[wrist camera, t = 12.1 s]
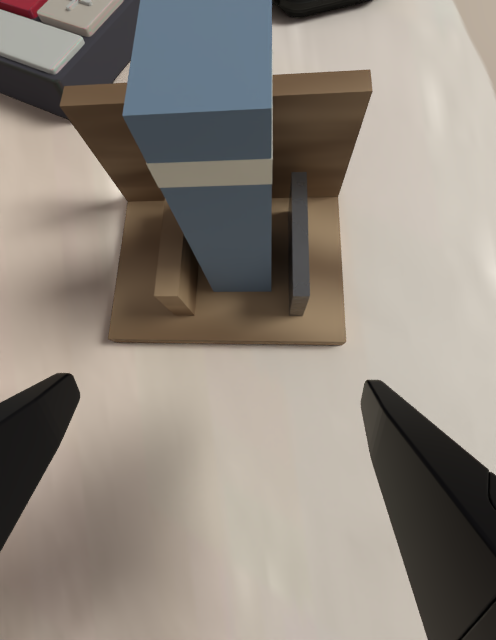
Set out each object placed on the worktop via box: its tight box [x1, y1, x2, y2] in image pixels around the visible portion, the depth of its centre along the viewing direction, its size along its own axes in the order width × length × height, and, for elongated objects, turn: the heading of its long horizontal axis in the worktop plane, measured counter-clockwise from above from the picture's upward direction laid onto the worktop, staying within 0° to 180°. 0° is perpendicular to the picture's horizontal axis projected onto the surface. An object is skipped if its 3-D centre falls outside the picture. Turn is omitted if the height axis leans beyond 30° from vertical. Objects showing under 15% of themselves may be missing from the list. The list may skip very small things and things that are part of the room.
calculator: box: [0, 0, 140, 120], centre depth 25 cm, size 11×4×15 cm
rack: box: [60, 70, 372, 345], centre depth 17 cm, size 11×14×8 cm
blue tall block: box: [122, 0, 272, 292], centre depth 13 cm, size 4×4×12 cm
